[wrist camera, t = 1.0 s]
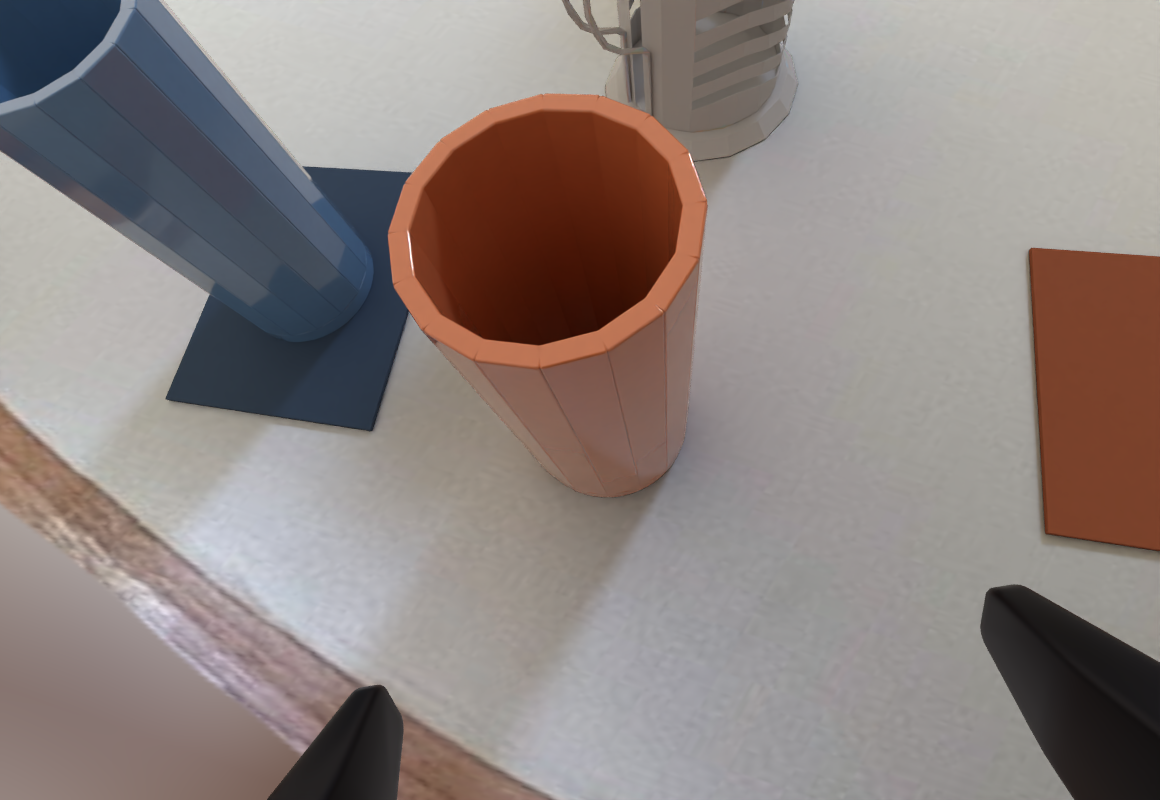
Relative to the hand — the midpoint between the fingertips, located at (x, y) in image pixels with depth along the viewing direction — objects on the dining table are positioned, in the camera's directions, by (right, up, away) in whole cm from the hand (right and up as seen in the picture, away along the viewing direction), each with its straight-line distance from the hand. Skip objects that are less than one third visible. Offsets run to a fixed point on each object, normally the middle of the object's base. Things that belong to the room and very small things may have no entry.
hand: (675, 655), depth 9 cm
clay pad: (+21, +4, +14) cm, 25 cm away
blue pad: (-15, +10, +21) cm, 27 cm away
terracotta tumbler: (0, +3, +16) cm, 17 cm away
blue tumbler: (-15, +10, +21) cm, 27 cm away
